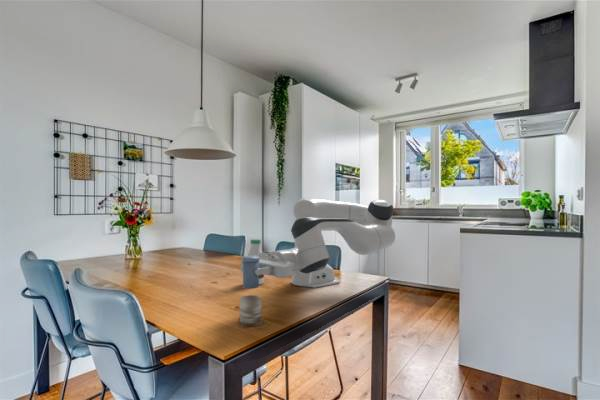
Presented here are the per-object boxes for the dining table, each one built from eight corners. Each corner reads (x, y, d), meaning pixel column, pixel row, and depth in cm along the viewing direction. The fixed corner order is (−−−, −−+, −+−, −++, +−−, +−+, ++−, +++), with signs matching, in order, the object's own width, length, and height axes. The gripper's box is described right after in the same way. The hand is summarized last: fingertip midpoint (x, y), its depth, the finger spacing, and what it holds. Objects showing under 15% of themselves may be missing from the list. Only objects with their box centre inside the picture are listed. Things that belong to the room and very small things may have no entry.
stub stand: (258, 317, 98) (258, 294, 98) (264, 325, 92) (264, 300, 92) (237, 320, 95) (237, 296, 95) (241, 328, 89) (241, 303, 89)
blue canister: (257, 283, 97) (257, 255, 97) (261, 287, 92) (261, 257, 92) (240, 285, 95) (240, 256, 95) (244, 289, 90) (244, 259, 90)
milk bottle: (249, 286, 135) (249, 240, 135) (245, 281, 142) (245, 238, 142) (266, 284, 138) (266, 239, 138) (261, 280, 145) (261, 238, 145)
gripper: (303, 277, 97) (273, 286, 86) (259, 268, 110) (228, 276, 99) (303, 257, 97) (273, 264, 86) (259, 251, 110) (228, 256, 99)
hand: (248, 270), depth 93 cm, fingers closed on blue canister, 5 cm apart
